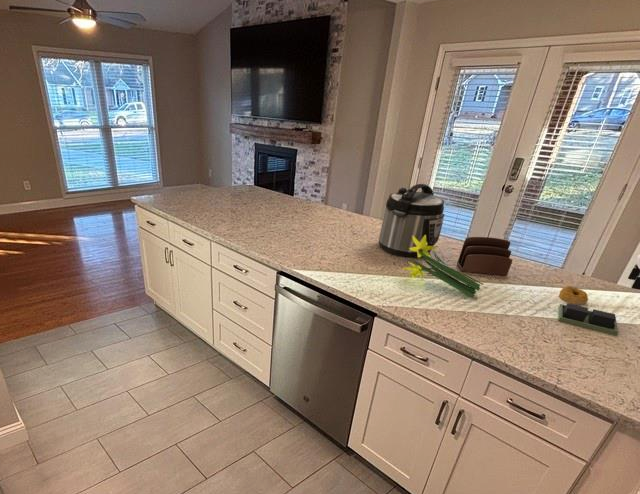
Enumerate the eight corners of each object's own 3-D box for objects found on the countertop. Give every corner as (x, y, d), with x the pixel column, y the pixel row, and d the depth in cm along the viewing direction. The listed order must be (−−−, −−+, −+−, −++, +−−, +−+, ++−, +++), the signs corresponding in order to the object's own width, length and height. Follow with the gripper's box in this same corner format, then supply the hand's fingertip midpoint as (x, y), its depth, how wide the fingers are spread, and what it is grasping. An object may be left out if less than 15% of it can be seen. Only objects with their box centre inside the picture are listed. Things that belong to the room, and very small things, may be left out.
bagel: (560, 303, 165) (566, 292, 162) (555, 293, 174) (560, 282, 171) (589, 308, 162) (595, 297, 160) (582, 297, 171) (587, 287, 168)
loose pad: (609, 323, 151) (614, 314, 149) (610, 329, 147) (616, 319, 145) (588, 318, 154) (593, 309, 152) (588, 323, 150) (594, 314, 148)
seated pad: (582, 317, 155) (587, 307, 152) (583, 322, 151) (588, 312, 149) (562, 312, 157) (567, 302, 155) (562, 317, 154) (567, 307, 152)
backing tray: (612, 321, 154) (615, 316, 153) (615, 337, 144) (618, 331, 143) (557, 308, 161) (560, 303, 160) (557, 322, 152) (560, 317, 150)
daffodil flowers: (466, 306, 161) (389, 261, 173) (463, 311, 175) (392, 269, 186) (494, 269, 158) (414, 226, 169) (489, 277, 172) (415, 236, 183)
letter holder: (456, 263, 198) (466, 234, 190) (500, 268, 196) (511, 238, 188) (461, 271, 190) (471, 241, 182) (507, 276, 187) (519, 245, 180)
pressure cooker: (390, 260, 198) (406, 191, 180) (365, 241, 221) (377, 178, 203) (446, 258, 203) (466, 191, 186) (416, 239, 226) (432, 178, 209)
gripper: (685, 243, 122) (653, 296, 131) (673, 229, 134) (645, 278, 143) (652, 238, 125) (624, 290, 134) (644, 225, 137) (618, 273, 147)
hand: (635, 284), depth 139 cm, fingers open, 9 cm apart
